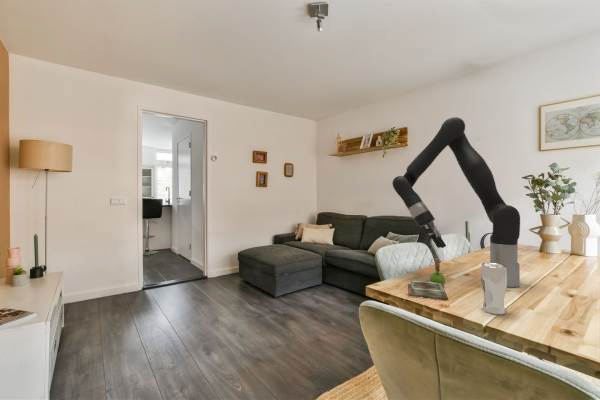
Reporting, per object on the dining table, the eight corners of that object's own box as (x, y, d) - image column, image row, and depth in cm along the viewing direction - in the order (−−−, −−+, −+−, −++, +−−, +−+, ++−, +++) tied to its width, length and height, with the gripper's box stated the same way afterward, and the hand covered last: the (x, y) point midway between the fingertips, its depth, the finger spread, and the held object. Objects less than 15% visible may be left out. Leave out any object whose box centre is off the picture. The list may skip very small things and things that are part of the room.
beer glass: (511, 316, 85) (511, 268, 85) (486, 314, 87) (486, 267, 86) (500, 307, 92) (500, 262, 92) (477, 306, 93) (477, 262, 93)
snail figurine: (443, 283, 117) (443, 255, 117) (446, 288, 111) (446, 258, 111) (429, 282, 119) (429, 254, 118) (431, 287, 113) (431, 258, 112)
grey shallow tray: (443, 289, 110) (443, 282, 109) (448, 300, 98) (448, 292, 98) (408, 286, 114) (408, 279, 114) (408, 296, 103) (408, 289, 103)
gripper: (425, 208, 115) (448, 242, 108) (432, 211, 127) (453, 243, 120) (409, 217, 118) (430, 251, 112) (417, 219, 130) (437, 251, 123)
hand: (442, 247), depth 116 cm, fingers open, 8 cm apart
